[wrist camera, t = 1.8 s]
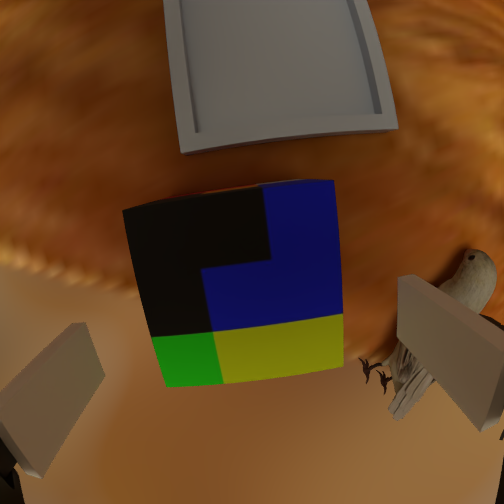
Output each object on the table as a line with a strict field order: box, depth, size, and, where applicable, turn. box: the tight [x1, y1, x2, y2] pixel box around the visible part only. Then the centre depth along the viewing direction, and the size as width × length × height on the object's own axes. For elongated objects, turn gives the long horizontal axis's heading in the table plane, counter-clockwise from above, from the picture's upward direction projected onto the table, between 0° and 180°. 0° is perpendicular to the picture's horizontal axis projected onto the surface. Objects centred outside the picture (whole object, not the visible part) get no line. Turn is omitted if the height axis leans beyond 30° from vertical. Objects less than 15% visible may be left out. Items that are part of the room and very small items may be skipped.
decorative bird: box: [359, 249, 497, 421], centre depth 23 cm, size 5×16×8 cm, turn 142°
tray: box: [163, 0, 399, 156], centre depth 20 cm, size 16×16×2 cm
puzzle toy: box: [122, 179, 343, 387], centre depth 20 cm, size 10×10×10 cm
